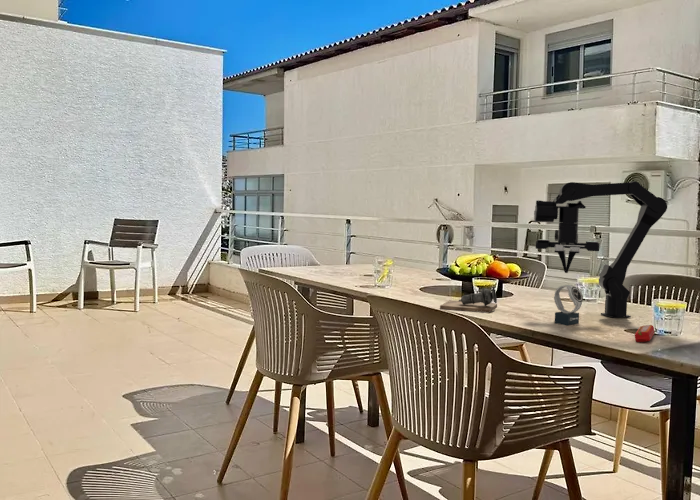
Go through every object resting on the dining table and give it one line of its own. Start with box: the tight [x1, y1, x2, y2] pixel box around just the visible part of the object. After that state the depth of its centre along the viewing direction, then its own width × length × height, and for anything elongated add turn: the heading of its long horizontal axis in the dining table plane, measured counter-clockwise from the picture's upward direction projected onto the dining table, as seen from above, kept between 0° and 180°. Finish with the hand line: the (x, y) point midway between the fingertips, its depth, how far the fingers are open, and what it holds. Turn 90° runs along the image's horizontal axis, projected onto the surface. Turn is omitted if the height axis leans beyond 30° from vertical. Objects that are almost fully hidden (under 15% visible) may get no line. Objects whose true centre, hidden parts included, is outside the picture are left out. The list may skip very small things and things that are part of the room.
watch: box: [553, 284, 584, 326], centre depth 190 cm, size 6×8×11 cm
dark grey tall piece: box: [458, 287, 498, 306], centre depth 216 cm, size 6×6×12 cm
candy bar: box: [634, 324, 655, 343], centre depth 171 cm, size 16×4×3 cm, turn 151°
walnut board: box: [439, 299, 498, 313], centre depth 217 cm, size 16×14×1 cm
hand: (566, 272), depth 208 cm, fingers closed
